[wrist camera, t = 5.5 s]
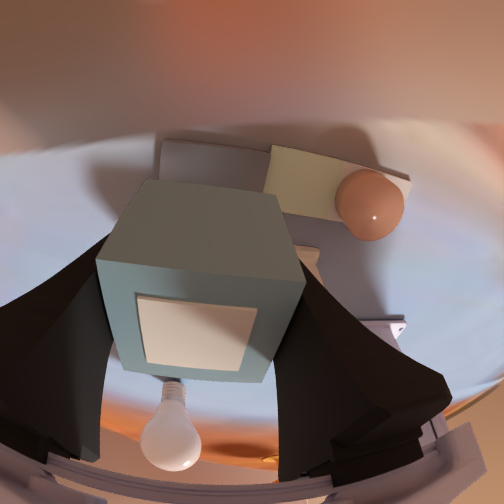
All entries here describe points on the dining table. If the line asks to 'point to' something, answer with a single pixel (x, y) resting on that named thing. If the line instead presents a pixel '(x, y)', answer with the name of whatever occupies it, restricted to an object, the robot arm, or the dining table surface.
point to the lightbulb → (171, 432)
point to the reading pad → (213, 165)
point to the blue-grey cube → (199, 281)
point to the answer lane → (312, 181)
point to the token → (369, 204)
